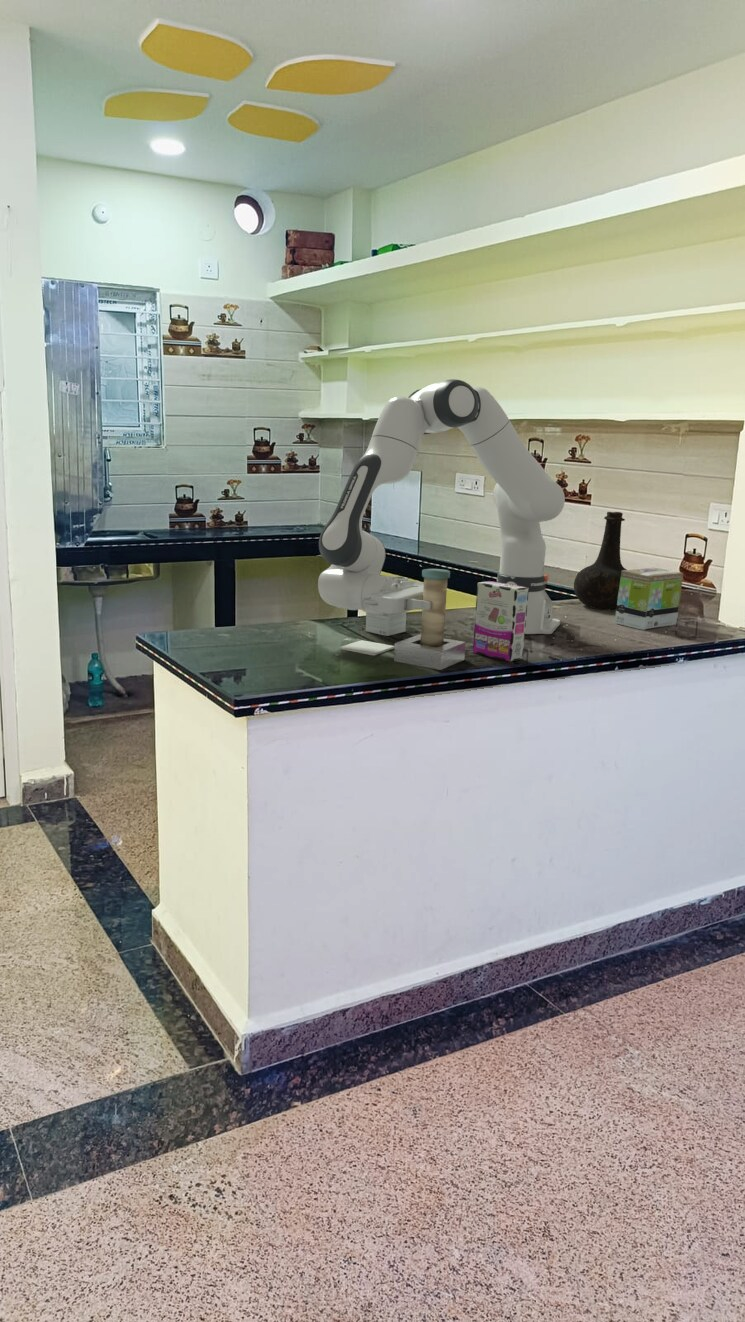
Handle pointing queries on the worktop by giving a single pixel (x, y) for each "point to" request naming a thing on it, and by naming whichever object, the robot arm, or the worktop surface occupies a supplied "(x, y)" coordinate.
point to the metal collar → (429, 653)
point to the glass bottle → (603, 570)
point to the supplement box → (386, 623)
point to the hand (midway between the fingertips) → (437, 603)
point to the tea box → (648, 598)
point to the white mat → (367, 647)
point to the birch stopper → (434, 606)
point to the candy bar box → (500, 620)
